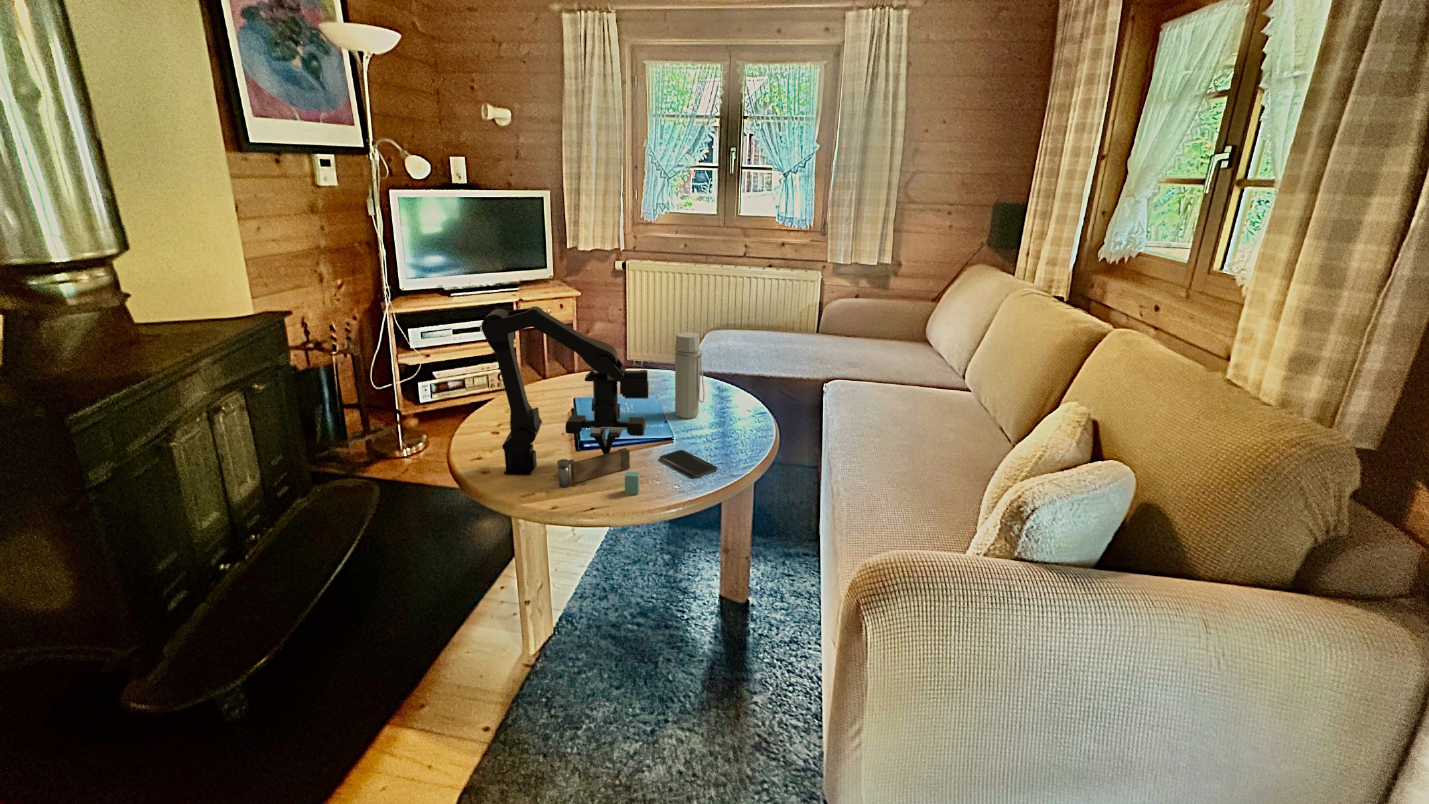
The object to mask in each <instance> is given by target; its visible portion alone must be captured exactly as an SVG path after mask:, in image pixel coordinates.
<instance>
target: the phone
mask: <svg viewBox="0 0 1429 804" xmlns="http://www.w3.org/2000/svg"><path fill="white" fill-rule="evenodd" d="M659 461H660V462H662V463H664V464H666V465H668V466H669V467H671V468H673V469H675V470H677V471H679V472H680V473H683V474H684V475H686V476H687V475H688V477H689V476H690V478H691V479H694V478H698V479H701V478H703V477H702V476H704V475H706V476H709V475H711V474H710V473H712V474H715V473H717V472H718V467H717V466H715V465H714V464H712V463H710V462H708V461H706V460H703V459H702V458H700V457H699V456H696V455H694V454H692V453H690V452H688V451H686V450H684V449H678V450H675V451H672V452H669V453H666V454H663V455H660V456H659ZM716 471H717V472H716ZM714 472H715V473H714ZM708 474H709V475H708ZM704 477H705V476H704Z"/></svg>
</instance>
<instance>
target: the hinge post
mask: <svg viewBox="0 0 1429 804" xmlns="http://www.w3.org/2000/svg"><path fill="white" fill-rule="evenodd" d="M557 470H558V471H557V473H558V485H559V488H562V489H566V488H569V487H570V485H571V484H570V483H571V482H570V468H569V465H568V466H566V467H559V466H557Z"/></svg>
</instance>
